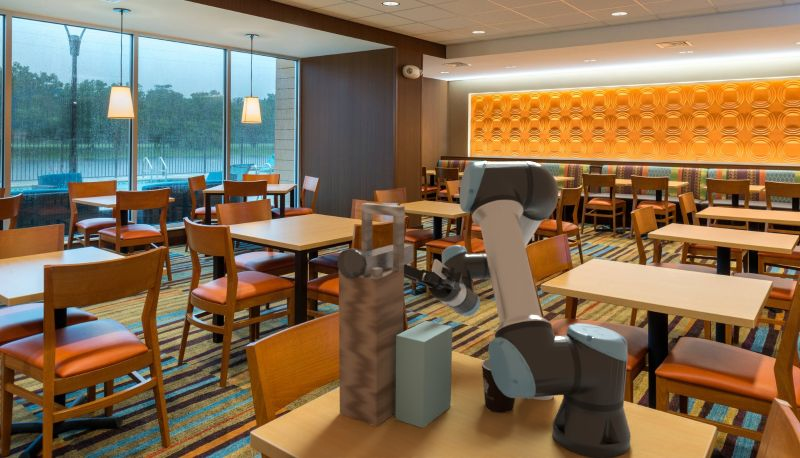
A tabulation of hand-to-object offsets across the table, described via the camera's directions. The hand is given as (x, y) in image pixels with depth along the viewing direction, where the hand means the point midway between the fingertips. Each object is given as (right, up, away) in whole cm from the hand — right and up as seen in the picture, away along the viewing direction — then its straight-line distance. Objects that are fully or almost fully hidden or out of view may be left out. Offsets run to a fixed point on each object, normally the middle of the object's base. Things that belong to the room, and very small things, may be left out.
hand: (409, 261), depth 140 cm
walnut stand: (-9, -33, -8) cm, 35 cm away
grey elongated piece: (-7, -1, -11) cm, 13 cm away
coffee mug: (+21, -33, -4) cm, 39 cm away
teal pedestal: (+3, -33, -9) cm, 35 cm away
